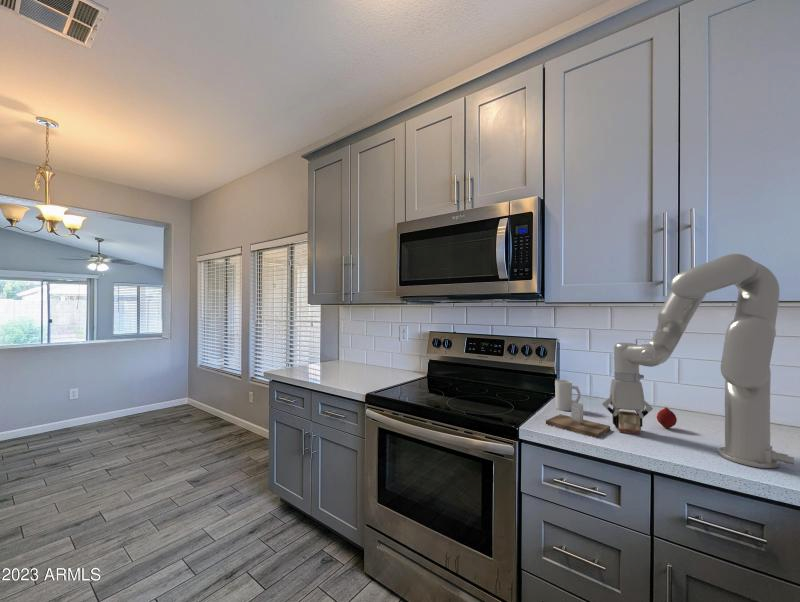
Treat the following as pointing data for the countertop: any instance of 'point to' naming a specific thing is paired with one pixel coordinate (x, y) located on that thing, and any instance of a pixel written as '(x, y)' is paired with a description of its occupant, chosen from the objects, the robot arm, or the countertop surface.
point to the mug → (565, 394)
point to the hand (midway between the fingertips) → (627, 426)
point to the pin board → (578, 426)
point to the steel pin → (577, 413)
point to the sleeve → (628, 422)
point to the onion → (666, 418)
